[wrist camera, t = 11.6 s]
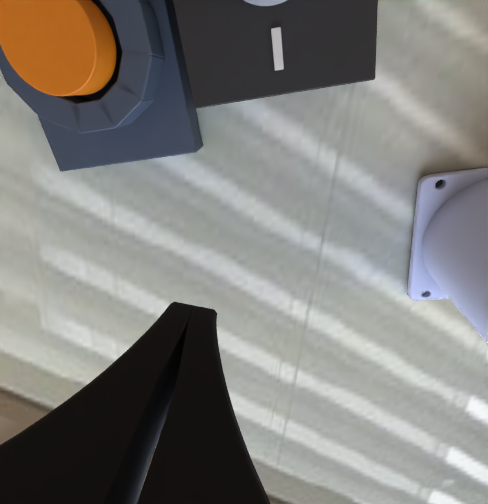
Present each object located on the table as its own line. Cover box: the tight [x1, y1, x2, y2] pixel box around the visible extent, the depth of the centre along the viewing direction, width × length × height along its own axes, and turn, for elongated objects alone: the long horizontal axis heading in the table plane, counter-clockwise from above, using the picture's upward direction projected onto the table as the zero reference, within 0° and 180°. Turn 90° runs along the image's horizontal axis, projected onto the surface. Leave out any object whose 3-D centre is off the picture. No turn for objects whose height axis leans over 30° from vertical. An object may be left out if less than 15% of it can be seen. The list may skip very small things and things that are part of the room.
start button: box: [0, 0, 116, 96], centre depth 12 cm, size 4×4×2 cm
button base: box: [0, 0, 203, 171], centre depth 14 cm, size 10×8×4 cm
